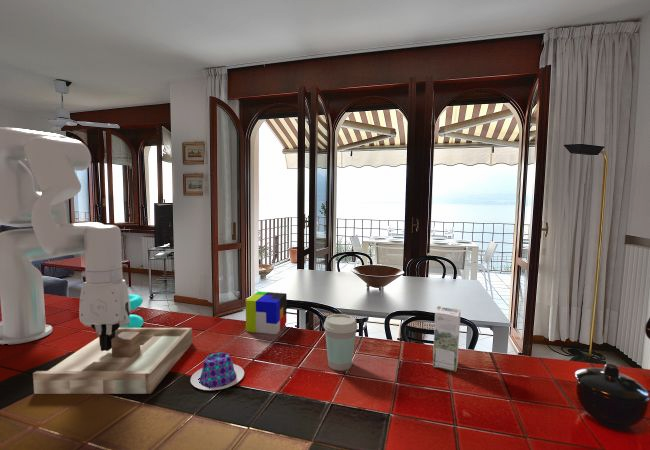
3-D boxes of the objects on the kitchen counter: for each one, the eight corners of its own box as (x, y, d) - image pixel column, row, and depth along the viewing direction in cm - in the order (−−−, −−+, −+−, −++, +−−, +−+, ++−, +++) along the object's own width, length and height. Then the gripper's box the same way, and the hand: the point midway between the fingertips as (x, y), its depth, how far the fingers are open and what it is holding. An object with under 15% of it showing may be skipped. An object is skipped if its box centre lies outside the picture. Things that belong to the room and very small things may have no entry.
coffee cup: (363, 364, 88) (364, 319, 87) (341, 377, 82) (342, 328, 81) (338, 353, 94) (338, 310, 93) (316, 365, 88) (316, 319, 86)
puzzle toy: (276, 334, 106) (276, 302, 105) (245, 331, 108) (245, 300, 107) (286, 322, 116) (286, 293, 115) (258, 320, 118) (258, 291, 117)
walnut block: (112, 357, 84) (111, 339, 83) (122, 349, 88) (121, 332, 88) (130, 357, 84) (130, 339, 84) (140, 349, 88) (139, 332, 88)
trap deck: (34, 393, 74) (32, 373, 73) (105, 342, 99) (104, 327, 98) (150, 393, 74) (150, 373, 74) (192, 343, 99) (192, 327, 99)
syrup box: (458, 362, 90) (460, 308, 89) (456, 373, 85) (459, 315, 83) (435, 357, 92) (437, 304, 91) (432, 367, 87) (434, 311, 86)
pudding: (232, 361, 90) (232, 341, 89) (252, 382, 80) (252, 360, 79) (184, 375, 82) (183, 354, 82) (199, 400, 73) (199, 376, 72)
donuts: (114, 304, 101) (99, 298, 107) (116, 338, 102) (101, 329, 108) (148, 296, 109) (133, 291, 115) (149, 327, 110) (134, 320, 116)
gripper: (62, 279, 80) (66, 355, 82) (127, 280, 81) (130, 355, 82) (83, 272, 88) (87, 341, 89) (143, 272, 88) (145, 342, 90)
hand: (108, 348), depth 86 cm, fingers closed
